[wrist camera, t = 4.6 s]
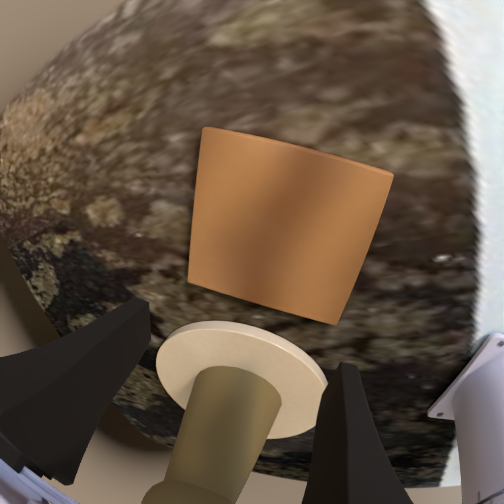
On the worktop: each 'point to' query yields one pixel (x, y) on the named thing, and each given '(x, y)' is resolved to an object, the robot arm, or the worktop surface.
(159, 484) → the pepper shaker
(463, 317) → the worktop surface
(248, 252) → the cork trivet
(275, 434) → the plate
